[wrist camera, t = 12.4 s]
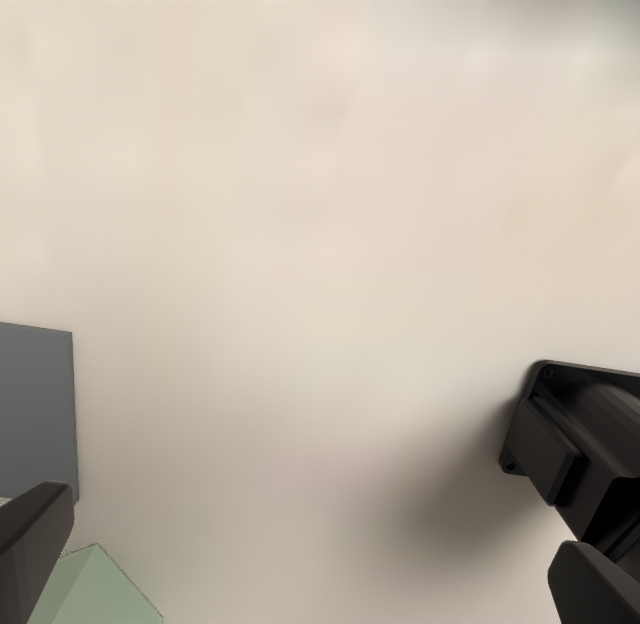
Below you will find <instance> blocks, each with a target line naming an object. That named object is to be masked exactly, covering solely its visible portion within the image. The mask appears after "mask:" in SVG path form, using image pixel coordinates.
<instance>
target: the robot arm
mask: <svg viewBox="0 0 640 624" xmlns="http://www.w3.org/2000/svg"><path fill="white" fill-rule="evenodd" d="M548 368H550V370H549V371H548V372H547V373H545V374H544V371H545V370H546V369H548ZM510 462H512V463H511V464H509V465H507V464H508V463H510ZM498 464H499V466H500V468H501V469H502V471H503V472H504V473H507V474H513V475H521V476H528V477H529V479H530V480H531V482H532V483H533V485H534V486H535V488H536V489H537V491H538V492H539V493H540V495H541V496H542V498H543V499H544V501H545V502H546V504H547V505H548V506H554V507H555V508H556V510H557V511H558V513H559V514H560V516H561V517H562V518H563V520H564V521H565V523H566V524H567V526H568V527H569V528H570V530H571V531H572V533H573V534H574V536H575V537H576V539H577V540H578V541H579V542H578V541H569V540H567V541H564V542H563V543H561V545H560V547H559V549H558V551H557V553H556V555H555V557H554V559H553V561H552V563H551V565H550V567H549V569H548V584H549V588H550V591H551V594H552V597H553V600H554V603H555V606H556V609H557V612H558V615H559V618H560V621H561V624H640V374H639V373H632V372H626V371H619V370H612V369H606V368H599V367H592V366H586V365H579V364H572V363H566V362H559V361H553V360H543V361H540V362H539V363H538V364H537V365H536V366H535V368H534V371H533V373H532V376H531V378H530V381H529V383H528V386H527V388H526V391H525V394H524V396H523V399H522V400H521V401H520V403H519V406H518V408H517V411H516V413H515V416H514V419H513V421H512V424H511V426H510V429H509V431H508V434H507V437H506V439H505V445H504V447H503V450H502V452H501V455H500V458H499V461H498ZM73 524H74V497H73V487H72V485H71V484H70V483H68V482H61V481H53V480H47V481H44V482H41V483H40V484H38V485H36V486H34V487H33V488H31V489H29V490H28V491H26V492H24V493H23V494H21V495H19V496H18V497H16V498H14V499H13V500H11V501H9V502H7V503H6V504H4V505H2V506H1V507H0V624H27V622H28V620H29V618H30V616H31V614H32V612H33V610H34V608H35V606H36V604H37V602H38V600H39V598H40V596H41V594H42V592H43V589H44V587H45V585H46V583H47V581H48V579H49V577H50V575H51V573H52V571H53V569H54V567H55V564H56V562H57V560H58V558H59V556H60V554H61V552H62V550H63V548H64V546H65V544H66V542H67V539H68V537H69V535H70V533H71V531H72V528H73Z"/></svg>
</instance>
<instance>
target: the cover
mask: <svg viewBox="0 0 640 624" xmlns="http://www.w3.org/2000/svg"><path fill="white" fill-rule="evenodd" d="M162 622H163V617H162V616H161V615H160V614H159V612H158V611H157V610H156V609H155V608H154V607H153V606H152V605H151V603H150V602H149V601H148V600H147V599H146V598H145V597H144V596H143V594H142V593H141V592H140V591H139V590H138V589H137V588H136V587H135V585H134V584H133V583H132V582H131V581H130V580H129V579H128V578H127V576H126V575H125V574H124V573H123V572H122V571H121V570H120V569H119V567H118V566H117V565H116V564H115V563H114V562H113V561H112V560H111V558H110V557H109V556H108V555H107V554H106V553H105V552H104V551H103V549H102V548H101V547H100V546H99V545H98V544H94V545H92V546H89V547H86V548H84V549H81V550H79V551H76V552H73V553H71V554H68V555H66V556H63V557H61V558H58V560H57V562H56V564H55V567H54V569H53V571H52V573H51V575H50V577H49V579H48V581H47V583H46V585H45V587H44V589H43V592H42V594H41V596H40V598H39V600H38V602H37V604H36V606H35V608H34V610H33V612H32V614H31V616H30V618H29V620H28V622H27V624H162Z"/></svg>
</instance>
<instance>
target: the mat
mask: <svg viewBox="0 0 640 624" xmlns="http://www.w3.org/2000/svg"><path fill="white" fill-rule="evenodd" d="M47 480H53V481H61V482H68V483H70V484H71V485H72V487H73V497H74V505H75V504H76V503H77V502H78V500H79V491H78V467H77V444H76V420H75V396H74V373H73V349H72V332H66V331H59V330H52V329H45V328H38V327H31V326H24V325H17V324H10V323H3V322H0V497H6V498H16V497H18V496H19V495H21V494H23V493H24V492H26V491H28V490H29V489H31V488H33V487H34V486H36V485H38V484H40V483H41V482H44V481H47Z"/></svg>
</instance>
